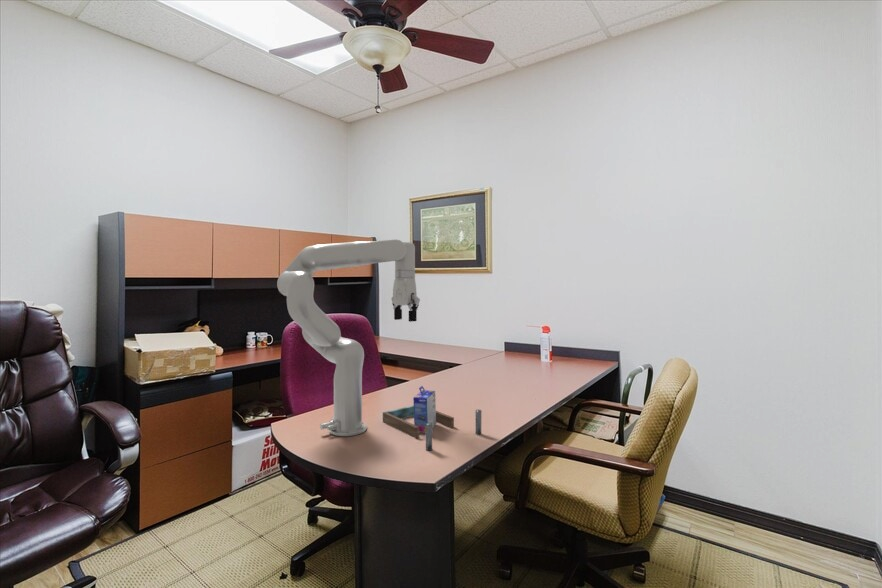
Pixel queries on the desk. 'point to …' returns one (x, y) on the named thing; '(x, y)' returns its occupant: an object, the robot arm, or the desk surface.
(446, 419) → the channel
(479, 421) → the post right
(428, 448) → the post left
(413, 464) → the desk surface
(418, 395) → the ink cartridge box
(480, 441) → the desk surface
